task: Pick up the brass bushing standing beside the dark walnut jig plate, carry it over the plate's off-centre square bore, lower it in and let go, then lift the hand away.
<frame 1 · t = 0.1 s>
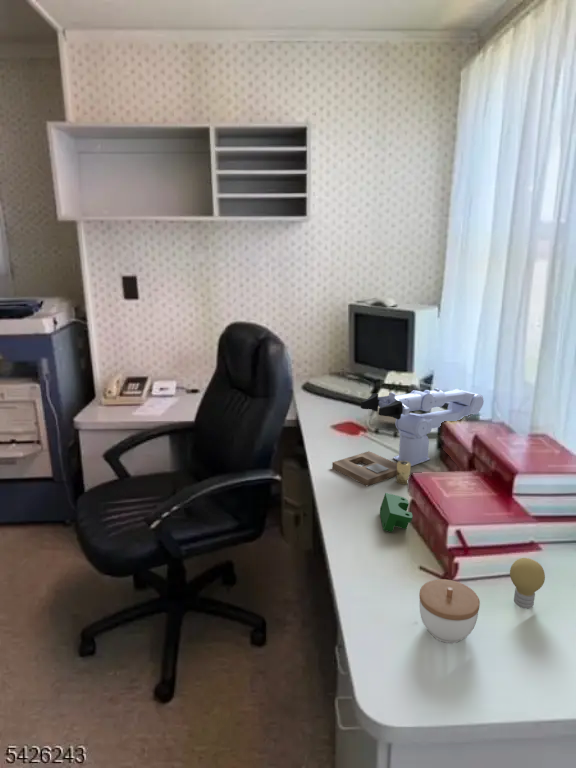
hand: (370, 408, 166), 22 cm above the table, tool horizontal, fingers open, 7 cm apart
lidded jar: (446, 632, 104), on the table
brass bushing: (402, 481, 167), on the table
jig plate: (368, 470, 174), on the table
light bulb: (523, 605, 111), on the table
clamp: (395, 523, 143), on the table
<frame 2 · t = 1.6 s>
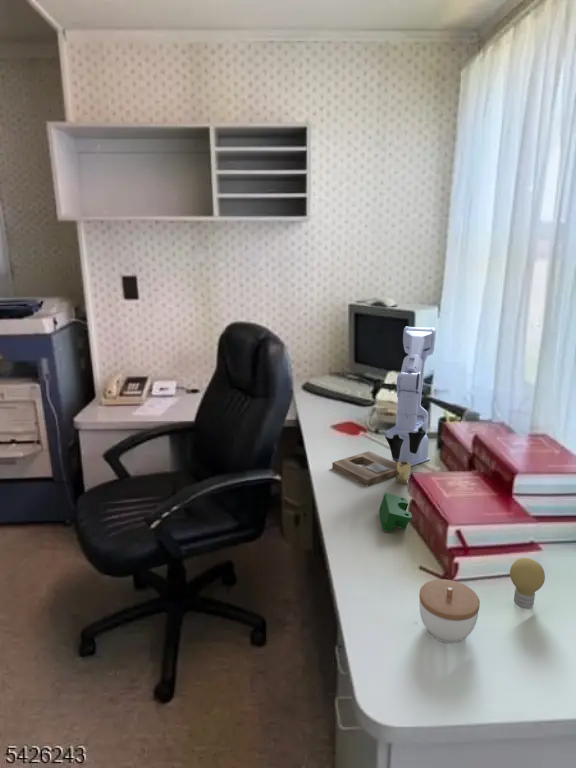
hand: (404, 455, 164), 8 cm above the table, tool pointing down, fingers open, 7 cm apart
nothing on the table moved.
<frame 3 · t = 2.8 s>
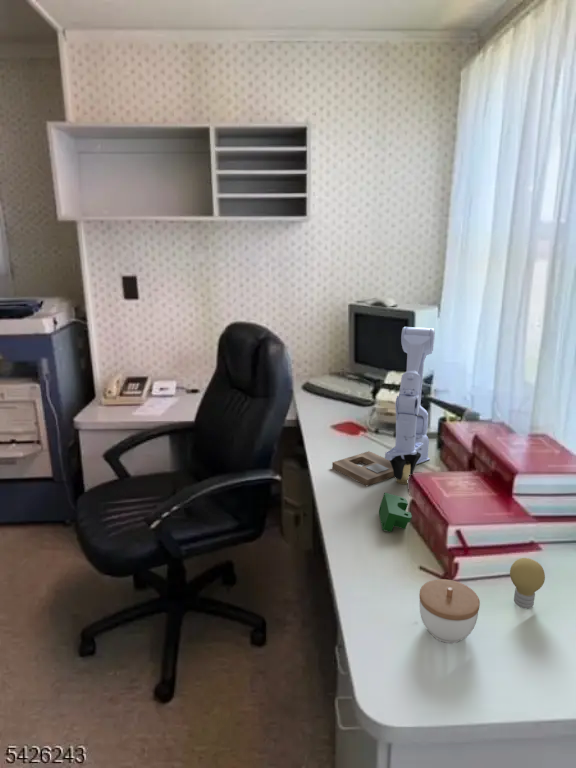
hand: (403, 476, 166), 2 cm above the table, tool pointing down, fingers closed on brass bushing, 4 cm apart
brass bushing: (402, 481, 166), on the table, touching gripper
everything else where it was.
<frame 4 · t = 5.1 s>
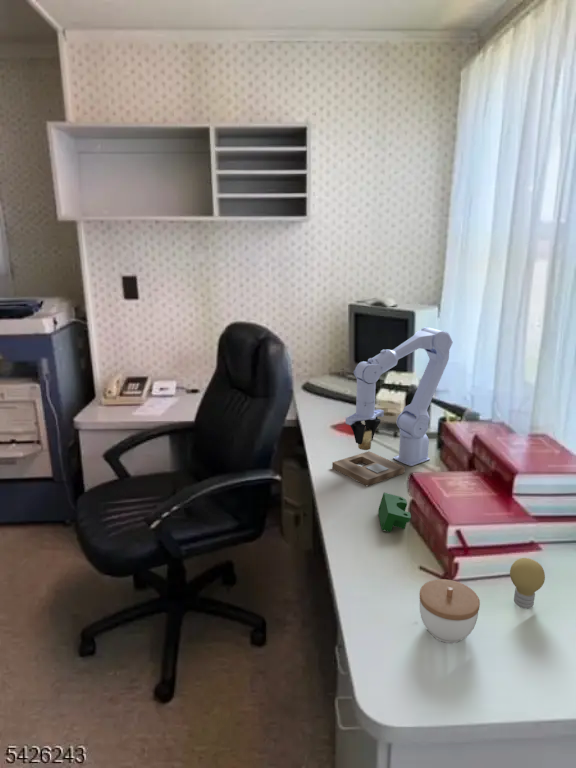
hand: (363, 441, 174), 9 cm above the table, tool pointing down, fingers closed on brass bushing, 4 cm apart
brass bushing: (364, 447, 174), point 7 cm above the table, touching gripper
everything else where it was.
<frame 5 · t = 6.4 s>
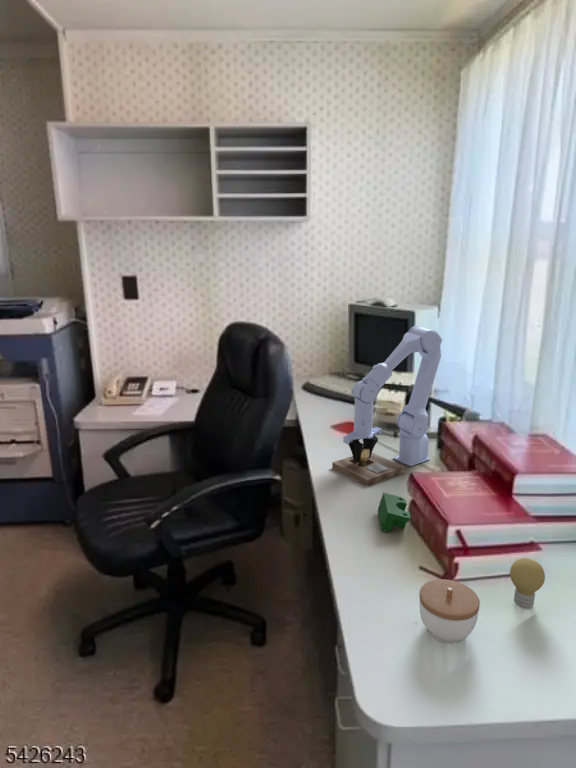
hand: (361, 459, 176), 3 cm above the table, tool pointing down, fingers closed on brass bushing, 4 cm apart
brass bushing: (362, 465, 176), point 1 cm above the table, touching gripper
everything else where it was.
when the fingers open (3 cm above the table, at t = 7.2 s): brass bushing stays where it is, resting in jig plate.
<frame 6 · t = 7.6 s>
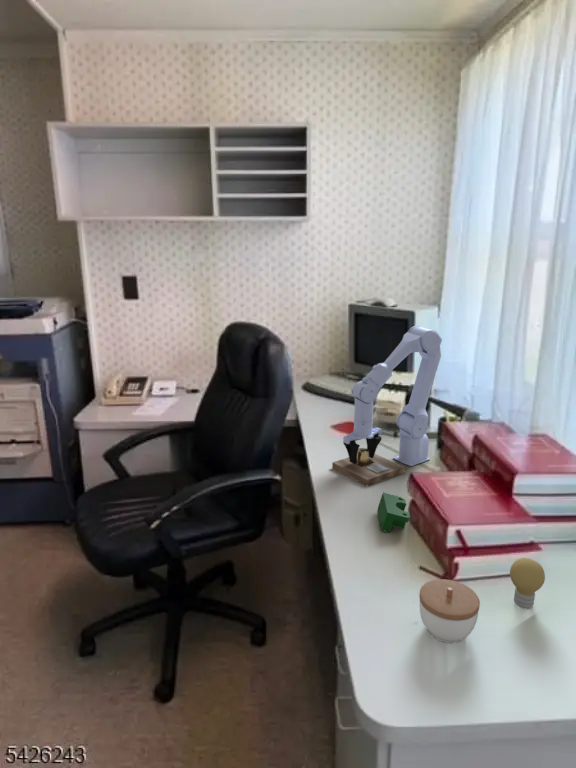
hand: (361, 459, 176), 3 cm above the table, tool pointing down, fingers open, 7 cm apart
brass bushing: (362, 467, 176), resting in jig plate
everything else where it was.
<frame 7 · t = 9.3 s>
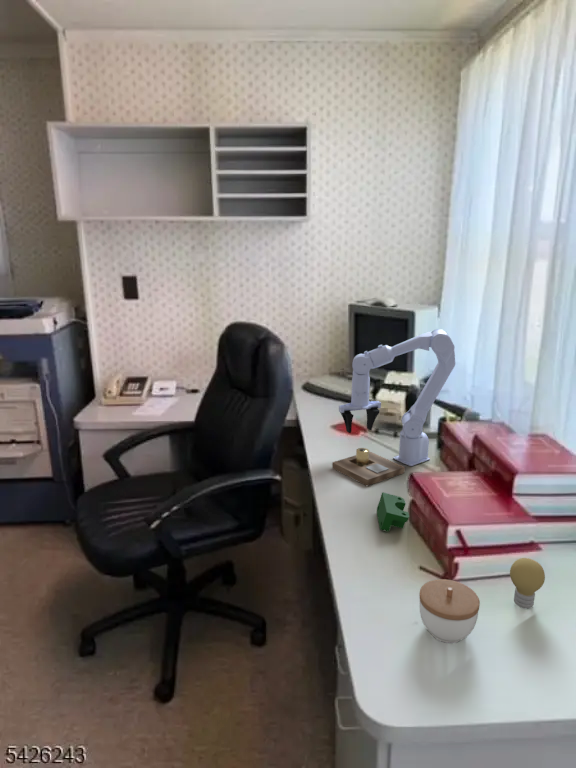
hand: (359, 430, 182), 9 cm above the table, tool pointing down, fingers open, 7 cm apart
nothing on the table moved.
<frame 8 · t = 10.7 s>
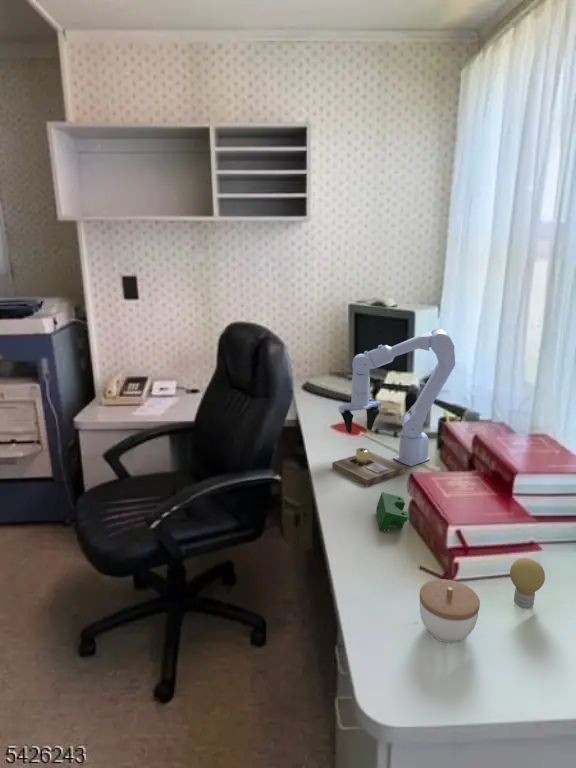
hand: (359, 430, 182), 9 cm above the table, tool pointing down, fingers open, 7 cm apart
nothing on the table moved.
at the end: brass bushing 0.3 cm from the target spot on the jig plate, point 0.0 cm above the jig plate's base; brass bushing tilted 0°; the gripper is holding nothing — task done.
